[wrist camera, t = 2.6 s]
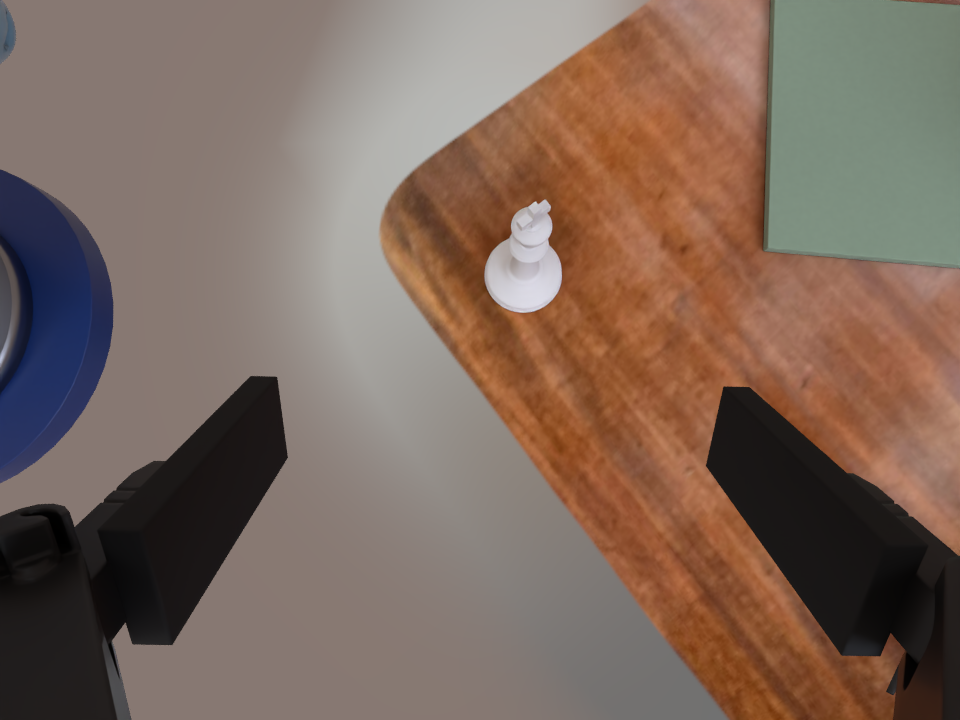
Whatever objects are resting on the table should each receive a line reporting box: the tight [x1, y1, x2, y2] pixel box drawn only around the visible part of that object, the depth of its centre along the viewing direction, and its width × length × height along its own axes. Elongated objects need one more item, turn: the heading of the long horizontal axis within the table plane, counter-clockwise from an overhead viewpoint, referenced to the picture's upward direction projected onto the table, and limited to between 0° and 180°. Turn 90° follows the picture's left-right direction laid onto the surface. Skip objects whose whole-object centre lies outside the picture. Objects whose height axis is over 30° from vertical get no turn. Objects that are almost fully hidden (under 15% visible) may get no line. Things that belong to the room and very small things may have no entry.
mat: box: [763, 0, 960, 268], centre depth 34 cm, size 16×18×1 cm
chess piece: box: [484, 200, 562, 313], centre depth 28 cm, size 5×5×10 cm
